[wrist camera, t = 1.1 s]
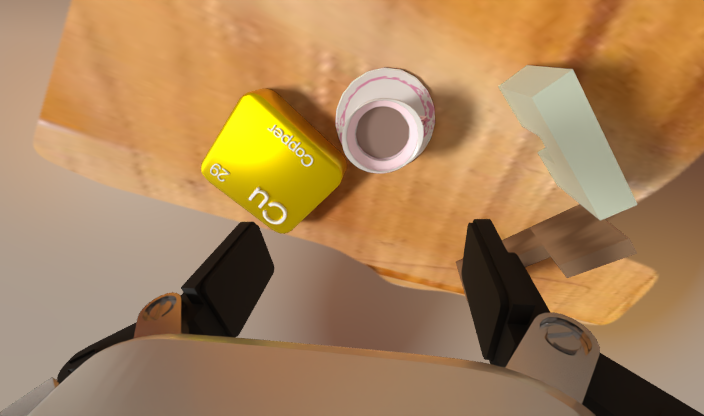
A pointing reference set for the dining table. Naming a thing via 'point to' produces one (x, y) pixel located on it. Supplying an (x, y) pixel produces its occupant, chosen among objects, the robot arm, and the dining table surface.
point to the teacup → (384, 120)
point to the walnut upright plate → (569, 243)
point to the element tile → (273, 161)
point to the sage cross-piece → (569, 138)
